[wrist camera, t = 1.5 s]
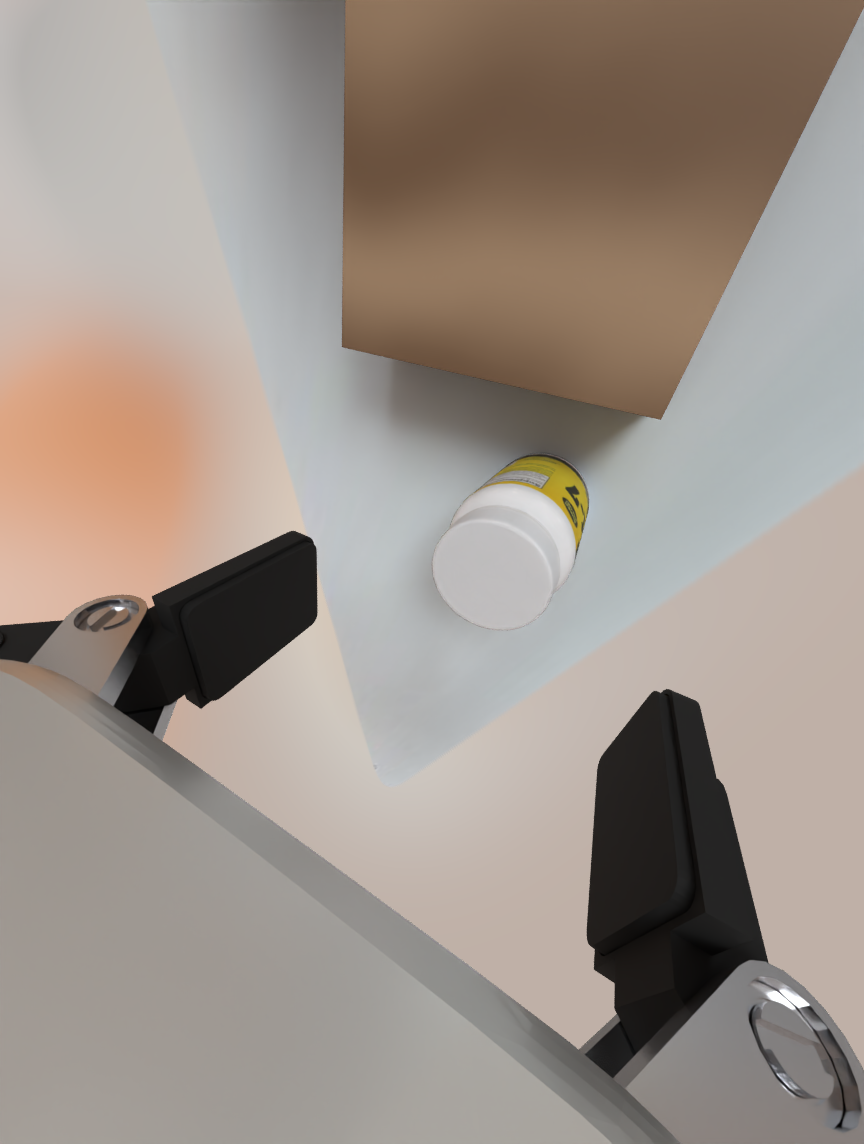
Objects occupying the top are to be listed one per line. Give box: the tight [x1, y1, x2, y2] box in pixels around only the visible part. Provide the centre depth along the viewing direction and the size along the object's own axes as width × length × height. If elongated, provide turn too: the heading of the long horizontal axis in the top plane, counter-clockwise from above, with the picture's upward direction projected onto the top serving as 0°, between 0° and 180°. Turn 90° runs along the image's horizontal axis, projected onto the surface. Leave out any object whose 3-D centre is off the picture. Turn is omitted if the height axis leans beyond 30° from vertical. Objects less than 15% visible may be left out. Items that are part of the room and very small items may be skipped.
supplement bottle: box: [432, 453, 589, 630], centre depth 14 cm, size 5×5×8 cm
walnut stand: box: [342, 0, 864, 420], centre depth 11 cm, size 12×12×4 cm
